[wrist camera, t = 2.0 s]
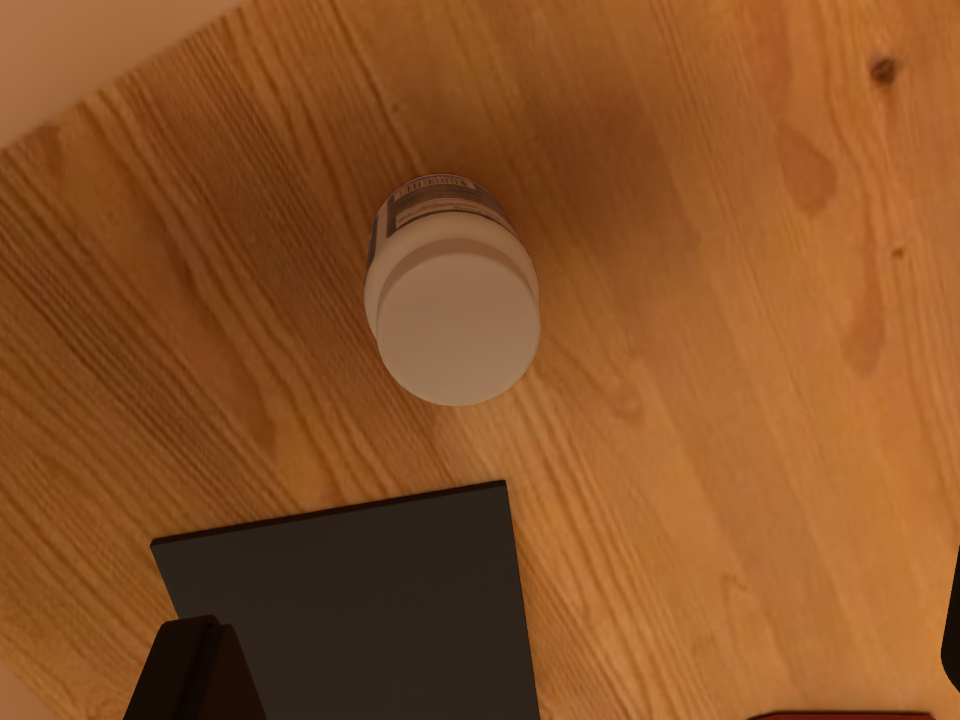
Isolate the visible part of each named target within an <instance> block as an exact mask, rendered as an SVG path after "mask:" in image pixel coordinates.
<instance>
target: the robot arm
mask: <svg viewBox="0 0 960 720" xmlns="http://www.w3.org/2000/svg"><path fill="white" fill-rule="evenodd" d="M941 660H942V664H943V667H944V670H945V672H946V674H947V676H948V678H949V680H950V681H951V682H952V684H953V685H954V686H955V688H956V689H957V690H958V691H959V692H960V546H959V552H958V557H957V563H956V568H955V574H954V580H953V585H952V591H951V597H950V602H949V608H948V614H947V619H946V625H945V630H944V636H943V642H942V647H941ZM123 720H267V717H266V715H265V712H264V709H263V706H262V703H261V701H260V698H259V695H258V692H257V690H256V687H255V684H254V681H253V679H252V676H251V673H250V670H249V668H248V665H247V662H246V659H245V656H244V654H243V651H242V648H241V645H240V643H239V640H238V637H237V634H236V632H235V629H234V627H233V626H232V625H231V624H223V625H220V623H219V621H218V619H217V618H216V617H215V616H214V615H211V614H209V615H203V616H197V617H191V618H185V619H179V620H173V621H167V622H165V623H164V624H162V625H161V627H160V629H159V631H158V633H157V635H156V638H155V640H154V643H153V645H152V648H151V651H150V653H149V656H148V658H147V661H146V663H145V666H144V668H143V671H142V673H141V676H140V678H139V681H138V683H137V686H136V688H135V691H134V693H133V696H132V698H131V701H130V703H129V706H128V708H127V711H126V713H125V716H124V718H123Z"/></svg>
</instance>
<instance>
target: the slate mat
mask: <svg viewBox="0 0 960 720" xmlns="http://www.w3.org/2000/svg"><path fill="white" fill-rule="evenodd" d="M150 548H151V551H152V553H153V556H154V558H155V560H156V563H157V565H158V568H159V570H160V573H161V575H162V578H163V580H164V583H165V585H166V588H167V590H168V593H169V595H170V598H171V600H172V603H173V605H174V607H175V610H176V612H177V615H178V617H179V619H185V618H191V617H197V616H203V615H209V614H211V615H214V616H215V617H216V618H217V619H218V621H219V623H220V625H223V624H231V625H232V626H233V627H234V629H235V632H236V634H237V637H238V640H239V643H240V645H241V648H242V651H243V654H244V656H245V659H246V662H247V665H248V668H249V670H250V673H251V676H252V679H253V681H254V684H255V687H256V690H257V692H258V695H259V698H260V701H261V703H262V706H263V709H264V712H265V715H266V717H267V720H540V716H539V709H538V702H537V695H536V688H535V681H534V674H533V667H532V660H531V653H530V646H529V639H528V632H527V625H526V618H525V611H524V604H523V597H522V590H521V583H520V576H519V569H518V562H517V555H516V548H515V541H514V534H513V527H512V520H511V513H510V506H509V499H508V492H507V486H506V481H505V480H504V481H498V482H492V483H486V484H480V485H474V486H468V487H462V488H457V489H451V490H445V491H439V492H433V493H427V494H421V495H415V496H410V497H404V498H398V499H392V500H386V501H380V502H374V503H368V504H362V505H357V506H351V507H345V508H339V509H333V510H327V511H321V512H315V513H310V514H304V515H298V516H292V517H286V518H280V519H274V520H268V521H263V522H257V523H251V524H245V525H239V526H233V527H227V528H221V529H216V530H210V531H204V532H198V533H192V534H186V535H180V536H174V537H168V538H163V539H157V540H153V541H152V543H151V545H150Z"/></svg>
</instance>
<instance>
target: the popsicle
mask: <svg viewBox="0 0 960 720" xmlns="http://www.w3.org/2000/svg"><path fill="white" fill-rule="evenodd" d="M756 720H935V719H934V718H933V717H931V716H928V715H878V714H776V715H772V716H768V717H764V718H760V719H756Z"/></svg>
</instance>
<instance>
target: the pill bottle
mask: <svg viewBox="0 0 960 720" xmlns="http://www.w3.org/2000/svg"><path fill="white" fill-rule="evenodd" d="M538 305H539V286H538V278H537V273H536V269H535V266H534V263H533V261H532V259H531V257H530V255H529V253H528V251H527V249H526V248H525V247H524V245H523V244H522V242H521V240H520V238H519V237H518V235H517V233H516V232H515V230H514V228H513V226H512V224H511V223H510V221H509V220H508V218H507V216H506V214H505V213H504V211H503V209H502V207H501V206H500V204H499V203H498V202H497V200H496V199H495V198H494V197H493V196H492V195H491V194H490V193H489V192H488V191H487V190H486V189H484V188H483V187H482V186H480V185H479V184H477V183H475V182H473V181H471V180H469V179H467V178H464V177H461V176H457V175H452V174H431V175H425V176H422V177H418V178H415V179H413V180H411V181H409V182H407V183H405V184H404V185H402V186H401V187H399V188H398V189H397V190H396V191H394V192H393V193H392V194H391V195H390V196H389V198H388V199H387V200H386V201H385V202H384V204H383V205H382V206H381V208H380V210H379V212H378V214H377V216H376V218H375V220H374V223H373V226H372V231H371V236H370V243H369V253H368V262H367V270H366V277H365V285H364V306H365V311H366V316H367V320H368V323H369V326H370V329H371V331H372V333H373V335H374V337H375V339H376V340H377V344H378V349H379V352H380V355H381V358H382V360H383V362H384V364H385V366H386V368H387V369H388V371H389V372H390V374H391V375H392V376H393V378H394V379H395V380H396V381H397V382H398V383H399V384H400V385H401V386H402V387H404V388H405V389H406V390H408V391H409V392H411V393H412V394H414V395H415V396H417V397H419V398H421V399H423V400H426V401H428V402H431V403H435V404H440V405H445V406H468V405H474V404H478V403H482V402H485V401H488V400H490V399H492V398H494V397H497V396H498V395H500V394H502V393H503V392H505V391H506V390H508V389H509V388H510V387H512V386H513V385H514V384H515V383H516V382H517V381H518V380H519V379H520V378H521V377H522V376H523V375H524V373H525V372H526V371H527V369H528V368H529V366H530V364H531V362H532V361H533V359H534V357H535V354H536V351H537V348H538V344H539V340H540V333H541V323H540V314H539V309H538Z"/></svg>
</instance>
